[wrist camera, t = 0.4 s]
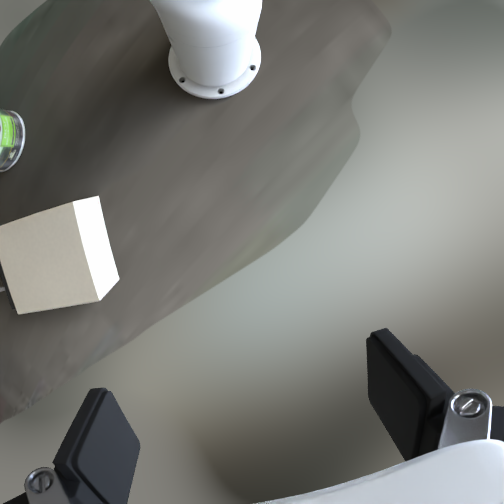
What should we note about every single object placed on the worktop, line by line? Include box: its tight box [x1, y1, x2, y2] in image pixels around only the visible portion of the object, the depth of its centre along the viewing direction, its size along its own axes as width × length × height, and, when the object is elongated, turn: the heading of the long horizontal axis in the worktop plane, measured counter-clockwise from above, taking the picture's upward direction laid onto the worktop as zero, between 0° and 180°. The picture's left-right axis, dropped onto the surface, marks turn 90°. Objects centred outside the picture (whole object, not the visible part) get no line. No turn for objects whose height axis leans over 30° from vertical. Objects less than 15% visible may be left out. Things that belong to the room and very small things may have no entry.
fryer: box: [0, 196, 119, 314], centre depth 39 cm, size 15×13×9 cm
